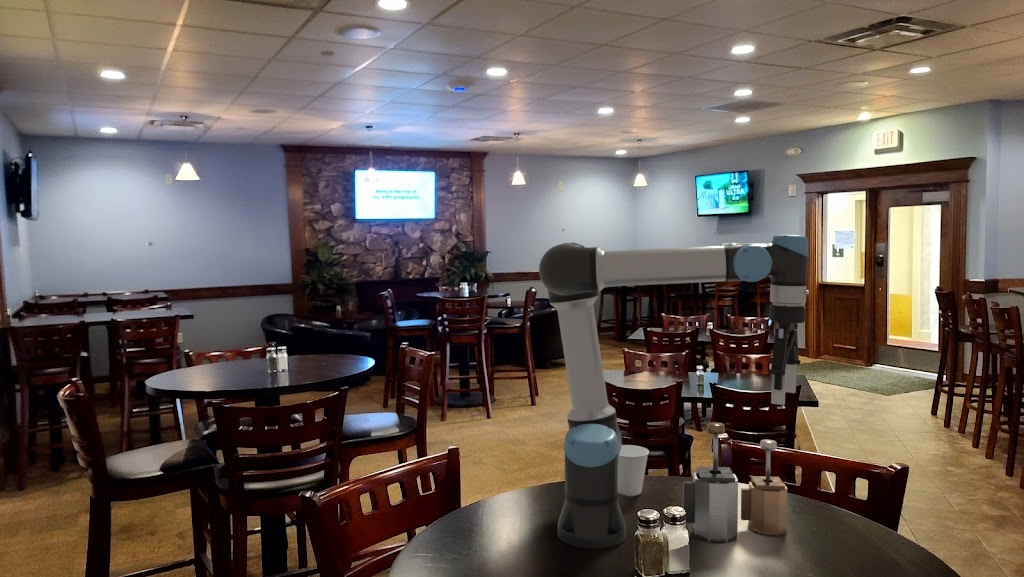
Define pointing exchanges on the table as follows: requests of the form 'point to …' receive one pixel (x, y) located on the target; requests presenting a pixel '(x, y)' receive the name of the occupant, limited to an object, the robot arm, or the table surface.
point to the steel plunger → (715, 442)
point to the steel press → (712, 504)
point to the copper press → (765, 506)
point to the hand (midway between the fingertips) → (783, 398)
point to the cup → (631, 469)
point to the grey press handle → (768, 455)
